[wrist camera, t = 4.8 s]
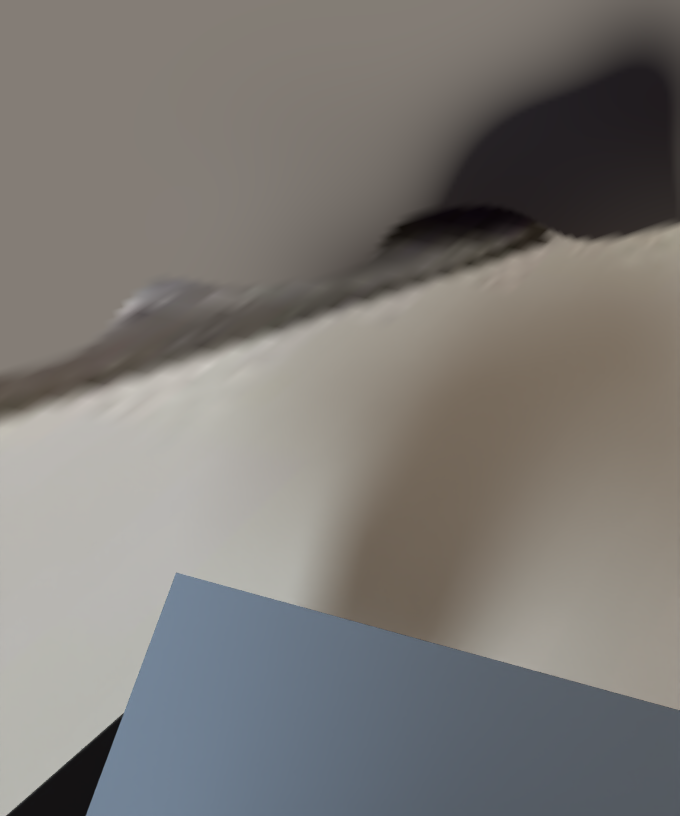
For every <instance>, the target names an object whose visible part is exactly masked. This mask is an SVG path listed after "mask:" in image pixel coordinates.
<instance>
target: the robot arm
mask: <svg viewBox="0 0 680 816" xmlns="http://www.w3.org/2000/svg"><path fill="white" fill-rule="evenodd" d="M123 714H124V713H123ZM123 714H122V715H121V716H120V717H119V718H117V719H116V720H115V721H114V722H113V723H112V724H111V725H109V726H108V727H107V728H106V729H105V730H104V731H103V732H101V733H100V734H99V735H98V736H97V737H96V738H95V739H93V740H92V741H91V742H90V743H89V744H88V745H87V746H85V747H84V748H83V749H82V750H81V751H80V752H79V753H77V754H76V755H75V756H74V757H73V758H72V759H71V760H69V761H68V762H67V763H66V764H65V765H64V766H63V767H61V768H60V769H59V770H58V771H57V772H56V773H55V774H53V775H52V776H51V777H50V778H49V779H48V780H47V781H45V782H44V783H43V784H42V785H41V786H40V787H39V788H37V789H36V790H35V791H34V792H33V793H32V794H31V795H29V796H28V797H27V798H26V799H25V800H24V801H22V802H21V803H20V804H19V805H18V806H17V807H16V808H14V809H13V810H12V811H11V812H10V813H9V814H8V815H6V816H86V814H87V811H88V808H89V806H90V803H91V800H92V798H93V795H94V792H95V790H96V787H97V784H98V782H99V779H100V776H101V774H102V771H103V768H104V765H105V763H106V760H107V757H108V755H109V752H110V749H111V747H112V744H113V741H114V739H115V736H116V733H117V731H118V728H119V725H120V722H121V720H122V717H123Z"/></svg>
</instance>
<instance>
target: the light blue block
mask: <svg viewBox="0 0 680 816" xmlns="http://www.w3.org/2000/svg"><path fill="white" fill-rule="evenodd" d="M86 816H680V710H676V709H672V708H669V707H665V706H661V705H658V704H654V703H650V702H647V701H643V700H639V699H636V698H632V697H628V696H625V695H621V694H618V693H614V692H610V691H607V690H603V689H599V688H596V687H592V686H588V685H585V684H581V683H577V682H574V681H570V680H566V679H563V678H559V677H555V676H552V675H548V674H544V673H541V672H537V671H533V670H530V669H526V668H523V667H519V666H515V665H512V664H508V663H504V662H501V661H497V660H493V659H490V658H486V657H482V656H479V655H475V654H471V653H468V652H464V651H460V650H457V649H453V648H449V647H446V646H442V645H438V644H435V643H431V642H428V641H424V640H420V639H417V638H413V637H409V636H406V635H402V634H398V633H395V632H391V631H387V630H384V629H380V628H376V627H373V626H369V625H365V624H362V623H358V622H354V621H351V620H347V619H343V618H340V617H336V616H333V615H329V614H325V613H322V612H318V611H314V610H311V609H307V608H303V607H300V606H296V605H292V604H289V603H285V602H281V601H278V600H274V599H270V598H267V597H263V596H259V595H256V594H252V593H248V592H245V591H241V590H238V589H234V588H230V587H227V586H223V585H219V584H216V583H212V582H208V581H205V580H201V579H197V578H194V577H190V576H186V575H183V574H179V573H176V575H175V577H174V580H173V583H172V585H171V588H170V591H169V594H168V596H167V599H166V602H165V604H164V607H163V610H162V612H161V615H160V618H159V620H158V623H157V626H156V628H155V631H154V634H153V637H152V639H151V642H150V645H149V647H148V650H147V653H146V655H145V658H144V661H143V663H142V666H141V669H140V671H139V674H138V677H137V679H136V682H135V685H134V688H133V690H132V693H131V696H130V698H129V701H128V704H127V706H126V709H125V712H124V714H123V717H122V720H121V722H120V725H119V728H118V731H117V733H116V736H115V739H114V741H113V744H112V747H111V749H110V752H109V755H108V757H107V760H106V763H105V765H104V768H103V771H102V774H101V776H100V779H99V782H98V784H97V787H96V790H95V792H94V795H93V798H92V800H91V803H90V806H89V808H88V811H87V814H86Z"/></svg>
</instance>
